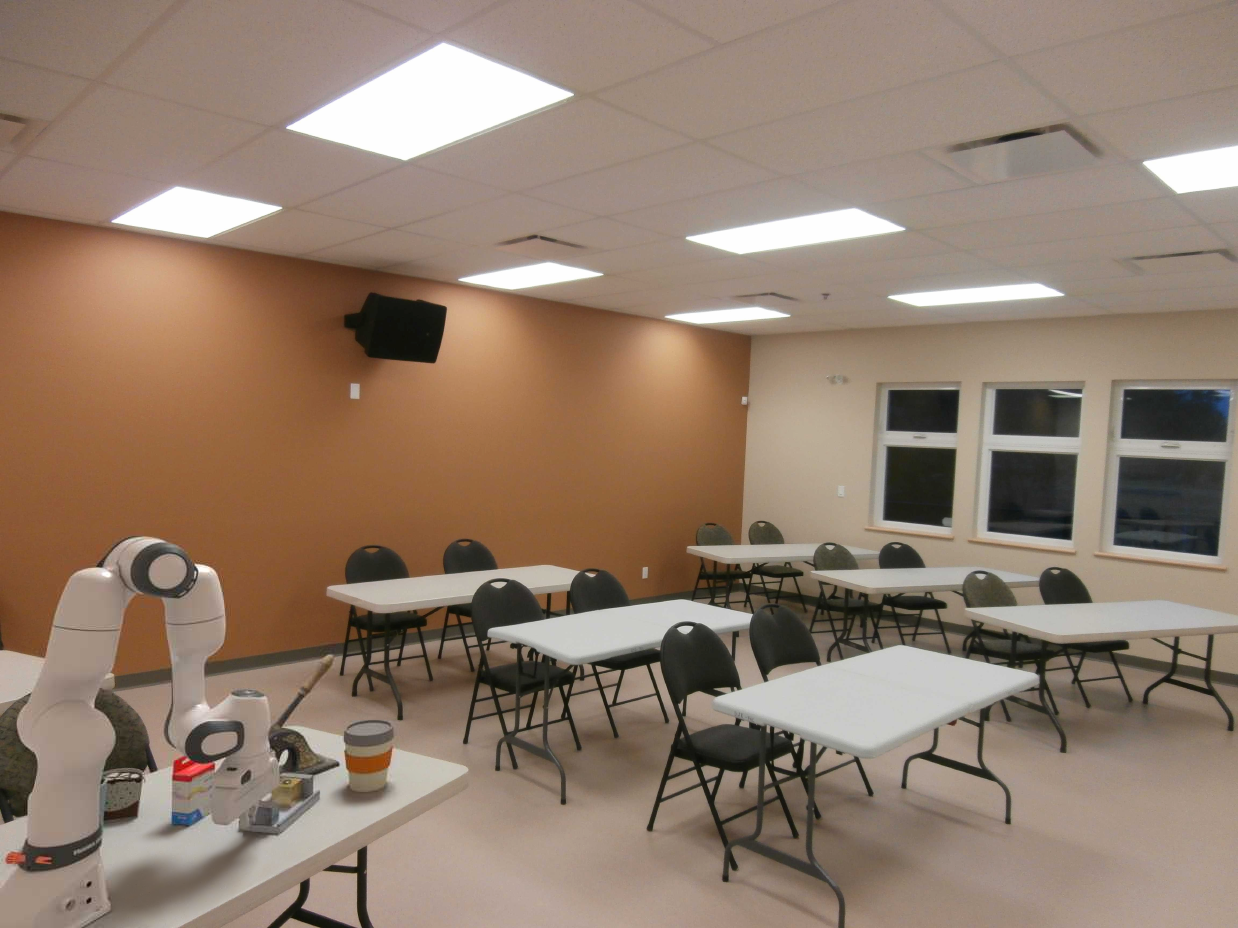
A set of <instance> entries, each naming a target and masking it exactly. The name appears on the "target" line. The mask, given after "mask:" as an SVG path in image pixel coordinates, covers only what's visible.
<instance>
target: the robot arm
mask: <svg viewBox="0 0 1238 928" xmlns="http://www.w3.org/2000/svg"><path fill="white" fill-rule="evenodd" d="M138 594H141V595H146V596H148V597H154V598H161V600H162V602H163V606H164V614H165V615H164V617H165V631H166V637H167V643H168V644H167V645H168V648H169V649H168V650H169V655H170V669H171V670H170V672H171V673H170V676H171V679H170V680H171V685H170V686H171V704H170V708H169V711H168V714H167V716H166V719H165V722H164V727H163V735H164V739H165V740H166V743H167V744H168V745H170V747H172V748H174V749H176V750H178V751H179V752H180V753H181V754H182V755H183V756H184V755H185V756H186V757H187V758H186V759H189V760H191V761H193V762H195V763H198V764H208V763H212V762H215V763H216V762H217V761H219V760H222V762H221V764H220V765H219V768H217V770H215V773H214V775H213V776H212V777H211V786H215V788H214V790H213V792H212V798H211V813H210V814H211V820H212V822H213V823H214V824H215V825H219V826H229V825H230V824H232V823H233V822H235V821H236V820H237V819H239V820H240V827H241V828H244V829H246V828H248V827H249V826H250V825H251V824H253V823H254V822H255V814H256V812H257V809H258V806H259V801H262V800H263V799H264V798H265V797H267V796H268V795H269V794H271V791H273V790H274V789H275V788H277V787H278V784H279V781H280V775H279V766H280V764H279V763H278V760H277V758H275V751H274V750H272V749H270V744H269V741H268V733H269V730H270V728H271V717H270V716H271V715H270V705H269V701H268V698H267V696H266V695H265V694H264V693H262V692H260V691H258V690H253V689H244V688H243V689H236V690H233V691H231V692H230V693H229V694H228V696H227V697H226V698H225V699H224V700H223V701H221V702H220V703H219V704H217V705H216V706H214V707H213V708H211V707H210V705H208V703H207V701H206V697H205V664H206V661H207V660H208V658H209V657H211V656H212V655H214V654H215V653H216V652H218V651H219V650H220V649H221V647H222V646H223V644H224V643H225V637H226V629H227V628H226V627H227V625H226V624H227V623H226V622H227V621H226V611H225V608H226V607H225V602H224V601H225V600H224V595H223V589H222V586H221V582H220V580H219V577H218V574H217V572H216V570H215V569H214V568H212V567H210V566H208V565H205V564H198V563H194V562H193V561H192V560H191V557H190V556H189V554H187V552H186V551H185V550H184V549H183V548H181V547H180V546H179V545H176V544H174V543H171V542H167V541H165V540H163V539H161V538H157V537H153V536H145V535H134V536H133V535H132V536H128V537H125V538H123V539H120V540H118V541H117V542H116V543H114V544H113V545H112V546H111V547H110V548H109V550H108V551H107V553H106V554H105V555H104V557H103V558H102V559H101V560H99V562H98V563H96V567H89V568H84V569H82V570H81V569H80V570H78V571H76V572H75V573H73V574H72V575H71V576H70V577H69V578H68V581H67V583H66V585H65V587H64V589H63V592H62V593H61V596H60V599H59V602H58V605H57V607H56V611H55V614H54V618H53V622H52V626H51V630H50V634H49V635H50V636H49V639H48V644H47V648H46V652H45V656H44V662H43V665H42V667H41V671H40V672H39V673H40V674H39V676H38V678H37V680H36V682H35V685H34V687H33V689H32V691H31V694H30V695H29V698H28V701H27V703H26V704H24V706H23V707H22V708H21V709H20V711H19V714H18V716H17V718H16V728H17V733H18V736H19V739H20V741H21V742H22V744H23V745H24V746H25V747H26V748H28V749H29V750H30V751H31V752H33V753H34V755H35V756H36V757H35V758H36V761H37V772H36V776H35V781H34V785H33V789H32V791H31V792H30V794H29V795H28V798H27V824H26V825H27V832H26V833H27V834H26V835H27V836H26V837H27V838H26V839H25V841H24V843H23V845H22V847H21V848H22V849H21V850H20V852H17V851H9V852H8V853H7V854H6V856H5V860H4V861H5V864H6V865H14V866H15V865H17V867H16V868H15V870H14V871H13V872H12V873H11V874H10V876H9V878H7V879H6V881H5V882H4V884H3V885H2V886H1V888H0V928H84V927H86V926H87V925H88V924H89V925H90V924H91V923H92V922H94V921H95V920H97V919H99V918H100V917H102V916H105V915H106V914H108V913H109V912H110V911H112V905H111V902H110V900H109V892H108V891H109V890H108V888H107V884H106V875H105V868H104V863H103V859H102V855H101V850H100V849H101V845H102V843H103V834H104V833H102V825H101V823H100V822H99V803H100V784H101V778H102V774H103V772H104V768H105V765H106V762H107V759H108V757H109V756H110V754H111V753H112V751H113V749H114V747H115V744H116V740H117V739H116V732H115V729H114V727H113V726H114V725H112V723H111V721H110V720H109V718H108V717H107V715H106V714H105V713H104V712H103V711H101V710H98V709H97V708H95V700H96V698H97V695H98V693H99V690H100V689H101V687H102V684H103V682H104V680H105V678H106V677H107V676H108V675H109V674H110V673H111V672H112V670H113V668H114V665H115V659H116V656H117V650H118V646H119V640H120V636H121V632H122V626H123V622H124V613H125V612H126V610H127V607H128V605H129V603H130V602H131V600H133V598H134V597H135V596H136V595H138ZM239 820H238V821H239Z"/></svg>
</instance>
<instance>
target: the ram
mask: <svg viewBox="0 0 1238 928" xmlns="http://www.w3.org/2000/svg"><path fill="white" fill-rule="evenodd" d="M278 820H279V802H272V801H265V800H260V801H259V806H258V809H257V812H256V814H255V822H254V823H253V824H260V825H271V826H272V825H273V824H274V823H275V822H276V821H278Z"/></svg>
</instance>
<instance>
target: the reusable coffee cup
mask: <svg viewBox="0 0 1238 928" xmlns="http://www.w3.org/2000/svg"><path fill="white" fill-rule="evenodd" d="M394 730H395V729H394V724H393V723H392V722H390V721H389V720H384V719H372V718H371V719H364V720H363V719H362V720H358V721H354V722H352V723H350V724H348V725H346V727H345V728H344V733H343V739H342V740H343V743H344V745H345V749H344V751H343V752H344V753H343V754H344V760H345V769H346V770H347V771H348V772H347V773H348V781H349V787H350V789H351V790H352V791H355V792H360V793H369V792H374V791H379V790H380V789H383V788H384V787H385V786H386V784H387V777H388V772H389V767H390V766H391V763H392V754H393V747H394V746H393V745H392V743H393V739H394V737H395V732H394Z"/></svg>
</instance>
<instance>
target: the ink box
mask: <svg viewBox="0 0 1238 928" xmlns="http://www.w3.org/2000/svg"><path fill="white" fill-rule="evenodd" d="M186 759H188V758H187V757H186V756H185V755H184V754H183V755H182V756H181V757H179V758H176V759H175V760H174V761H173V763H172V764H173V765H172V773H171V825H179V826H188V827H189V826H191V825H193V824H194V823H197V822H198V821H199V820H201V819H203V818H205V817H206V816H208V815H210V814H211V798H212V792H213V790H214V788H215V786H211V777H212V776H213V775H214V773H215V772H216V761H215V762H212V763H208V764H198V763H195V762H193V761H191V760H190V759H189V760H187V761H186ZM184 761H185V762H184Z"/></svg>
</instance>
